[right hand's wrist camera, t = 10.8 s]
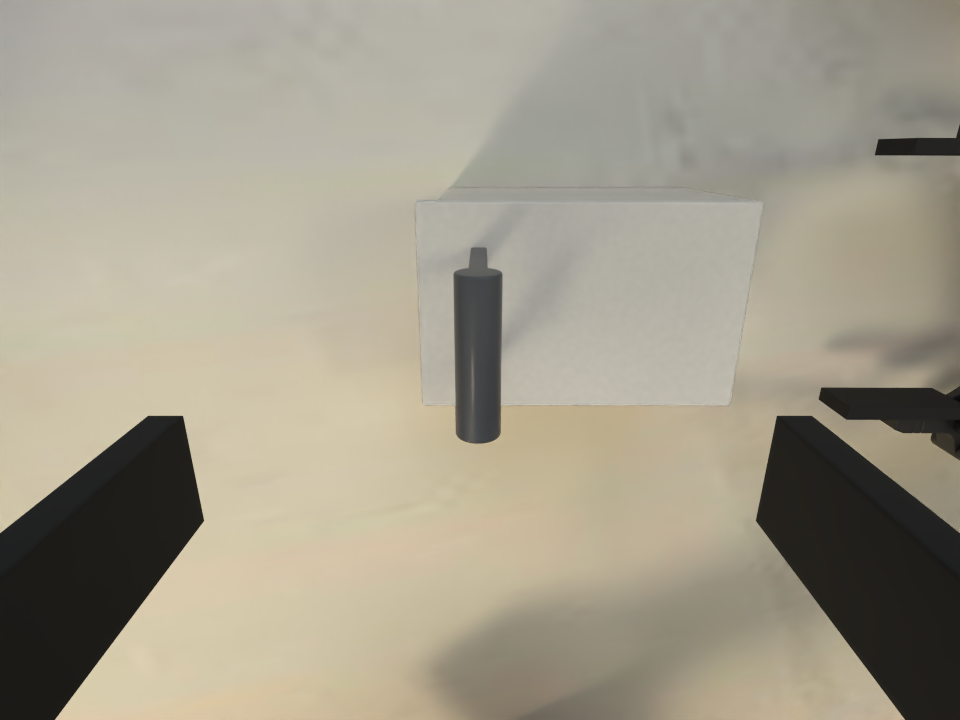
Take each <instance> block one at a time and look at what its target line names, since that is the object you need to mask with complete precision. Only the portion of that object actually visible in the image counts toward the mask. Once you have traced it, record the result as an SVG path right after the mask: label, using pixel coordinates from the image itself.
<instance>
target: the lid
mask: <svg viewBox="0 0 960 720" xmlns="http://www.w3.org/2000/svg"><path fill="white" fill-rule="evenodd" d="M763 205H764V203H763V202H761V201H755V200H418V201H416V202H415V228H416V254H417V279H418V305H419V331H420V357H421V383H422V404H423V405H424V406H455V407H456V434H457V436H458V438H460V439H461V440H463V441H465V442H469V443H487V442H491V441H494V440H495V439H497V438H498V437H499V435H500V432H501V406H730V402H731V396H732V390H733V384H734V378H735V372H736V366H737V360H738V354H739V348H740V342H741V336H742V331H743V325H744V319H745V313H746V307H747V301H748V295H749V289H750V283H751V277H752V271H753V265H754V259H755V253H756V247H757V241H758V235H759V229H760V223H761V217H762V211H763Z"/></svg>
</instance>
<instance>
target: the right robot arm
mask: <svg viewBox="0 0 960 720" xmlns="http://www.w3.org/2000/svg"><path fill="white" fill-rule="evenodd" d="M203 521H204V518H203V513H202V508H201V503H200V498H199V493H198V488H197V483H196V478H195V473H194V468H193V463H192V458H191V453H190V449H189V444H188V439H187V434H186V429H185V424H184V419H183V416H148V417H146V418H145V419H144V420H143V421H141V422H140V423H139V424H137V425H136V426H135V427H134V428H132V429H131V430H130V431H129V432H127V433H126V434H125V435H124V436H122V437H121V438H120V439H119V440H117V441H116V442H115V443H114V444H112V445H111V446H110V447H108V448H107V449H106V450H105V451H103V452H102V453H101V454H100V455H98V456H97V457H96V458H95V459H93V460H92V461H91V462H90V463H88V464H87V465H86V466H84V467H83V468H82V469H81V470H79V471H78V472H77V473H76V474H74V475H73V476H72V477H71V478H69V479H68V480H67V481H66V482H64V483H63V484H62V485H61V486H59V487H58V488H57V489H55V490H54V491H53V492H52V493H50V494H49V495H48V496H47V497H45V498H44V499H43V500H42V501H40V502H39V503H38V504H37V505H35V506H34V507H33V508H32V509H30V510H29V511H28V512H26V513H25V514H24V515H23V516H21V517H20V518H19V519H18V520H16V521H15V522H14V523H13V524H11V525H10V526H9V527H8V528H6V529H5V530H4V531H2V532H1V533H0V720H55V719H56V717H57V716H58V715H59V713H60V712H61V711H62V709H63V708H64V707H65V705H66V704H67V703H68V701H69V700H70V699H71V697H72V696H73V695H74V693H75V692H76V691H77V689H78V688H79V687H80V685H81V684H82V683H83V681H84V680H85V679H86V677H87V676H88V675H89V673H90V672H91V671H92V669H93V668H94V667H95V665H96V664H97V663H98V661H99V660H100V659H101V657H102V656H103V655H104V653H105V652H106V651H107V649H108V648H109V647H110V645H111V644H112V643H113V641H114V640H115V639H116V637H117V636H118V635H119V633H120V632H121V631H122V629H123V628H124V627H125V625H126V624H127V623H128V621H129V620H130V619H131V617H132V616H133V615H134V613H135V612H136V611H137V609H138V608H139V607H140V605H141V604H142V603H143V601H144V600H145V599H146V597H147V596H148V595H149V593H150V592H151V591H152V589H153V588H154V587H155V585H156V584H157V583H158V581H159V580H160V579H161V577H162V576H163V575H164V573H165V572H166V571H167V569H168V568H169V567H170V565H171V564H172V563H173V561H174V560H175V559H176V557H177V556H178V555H179V553H180V552H181V551H182V549H183V548H184V547H185V545H186V544H187V543H188V541H189V540H190V539H191V537H192V536H193V535H194V533H195V532H196V531H197V529H198V528H199V527H200V525H201V524H202V523H203ZM756 521H757V523H758V524H759V525H760V527H761V528H762V529H763V531H764V532H765V533H766V535H767V536H768V537H769V539H770V540H771V541H772V543H773V544H774V545H775V547H776V548H777V549H778V551H779V552H780V553H781V555H782V556H783V557H784V559H785V560H786V561H787V563H788V564H789V565H790V567H791V568H792V569H793V571H794V572H795V573H796V575H797V576H798V577H799V579H800V580H801V581H802V583H803V584H804V585H805V587H806V588H807V589H808V591H809V592H810V593H811V595H812V596H813V597H814V599H815V600H816V601H817V603H818V604H819V605H820V607H821V608H822V609H823V611H824V612H825V613H826V615H827V616H828V617H829V619H830V620H831V621H832V623H833V624H834V625H835V627H836V628H837V629H838V631H839V632H840V633H841V635H842V636H843V637H844V639H845V640H846V641H847V643H848V644H849V645H850V647H851V648H852V649H853V651H854V652H855V653H856V655H857V656H858V657H859V659H860V660H861V661H862V663H863V664H864V665H865V667H866V668H867V669H868V671H869V672H870V673H871V675H872V676H873V677H874V679H875V680H876V681H877V683H878V684H879V685H880V687H881V688H882V689H883V691H884V692H885V693H886V695H887V696H888V697H889V699H890V700H891V701H892V703H893V704H894V705H895V707H896V708H897V709H898V711H899V712H900V713H901V715H902V716H903V717H904V719H905V720H960V533H959V532H958V531H956V530H955V529H954V528H952V527H951V526H950V525H949V524H947V523H946V522H945V521H944V520H942V519H941V518H940V517H939V516H937V515H936V514H935V513H934V512H932V511H931V510H930V509H928V508H927V507H926V506H925V505H923V504H922V503H921V502H920V501H918V500H917V499H916V498H915V497H913V496H912V495H911V494H910V493H908V492H907V491H906V490H905V489H903V488H902V487H901V486H899V485H898V484H897V483H896V482H894V481H893V480H892V479H891V478H889V477H888V476H887V475H886V474H884V473H883V472H882V471H881V470H879V469H878V468H877V467H876V466H874V465H873V464H872V463H870V462H869V461H868V460H867V459H865V458H864V457H863V456H862V455H860V454H859V453H858V452H857V451H855V450H854V449H853V448H852V447H850V446H849V445H848V444H846V443H845V442H844V441H843V440H841V439H840V438H839V437H838V436H836V435H835V434H834V433H833V432H831V431H830V430H829V429H828V428H826V427H825V426H824V425H823V424H821V423H820V422H819V421H817V420H816V419H815V418H814V417H812V416H777V419H776V424H775V429H774V434H773V439H772V444H771V449H770V453H769V458H768V463H767V468H766V473H765V478H764V483H763V488H762V493H761V498H760V503H759V508H758V513H757V518H756Z"/></svg>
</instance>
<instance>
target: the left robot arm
mask: <svg viewBox="0 0 960 720" xmlns="http://www.w3.org/2000/svg"><path fill="white" fill-rule="evenodd" d="M875 155H946V156H960V126H959V129H958V133H957V137H956V138H904V139H878V144H877V148H876V152H875ZM819 400H820V401H822V402H823V403H824V404H826V405H827V406H829V407H830V408H831V409H833V410H834V411H835V412H837V413H838V414H840V415H841V416H842V417H844V418H845V419H846V420H881V421H883V422H884V423H886V424H887V425H889V426H890V427H892V428H893V429H895V430H897V431H899V432H902V433H932V435H931V441H932V443H934V444H935V445H937V446H938V447H940V448H941V449H943V450H944V451H946V452H948V453H949V454H951V455H952V456H954V457H955V458H957V459H959V460H960V387H958V388H956V389H955V390H953V391H952V392H950V393H948V394H947V395H944V394H942V393H940V392H939V391H937V390H935V389H933V388H821V392H820V396H819Z"/></svg>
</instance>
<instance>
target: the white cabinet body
mask: <svg viewBox="0 0 960 720" xmlns="http://www.w3.org/2000/svg"><path fill="white" fill-rule="evenodd" d="M439 200H750V199H745V198H739V197H733V196H727V195H721V194H716V193H710V192H704V191H698V190H693V189H687V188H449V189H448V190H447V191H446V192H445V193H444V194H443V195H442V196H441V198H440V199H439Z"/></svg>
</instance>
